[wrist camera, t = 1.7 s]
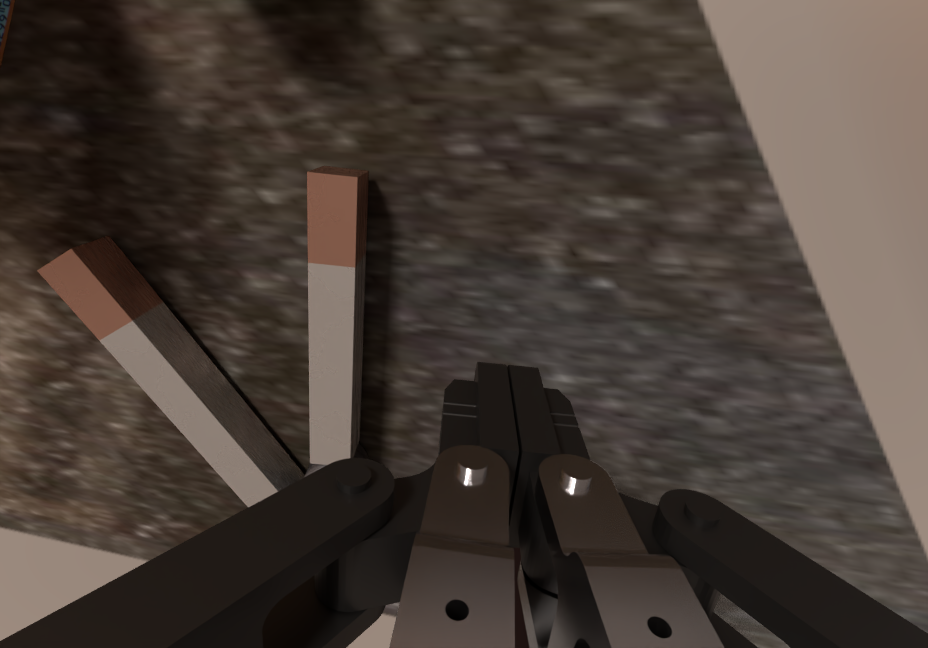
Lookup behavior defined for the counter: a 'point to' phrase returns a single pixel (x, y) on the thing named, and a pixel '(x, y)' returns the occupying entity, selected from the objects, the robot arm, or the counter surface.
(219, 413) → the tongs fixed leg
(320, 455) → the leg
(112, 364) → the counter surface
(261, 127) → the counter surface
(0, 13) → the milk carton
